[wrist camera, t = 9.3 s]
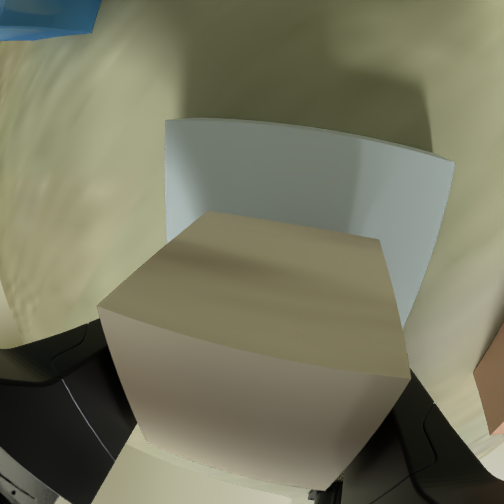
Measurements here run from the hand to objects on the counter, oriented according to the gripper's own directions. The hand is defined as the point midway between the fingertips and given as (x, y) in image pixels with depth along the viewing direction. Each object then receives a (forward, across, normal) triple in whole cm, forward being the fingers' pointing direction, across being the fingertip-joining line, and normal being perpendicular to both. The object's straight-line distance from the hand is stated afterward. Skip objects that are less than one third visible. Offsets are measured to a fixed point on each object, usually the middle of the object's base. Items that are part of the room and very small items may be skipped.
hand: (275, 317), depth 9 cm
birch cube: (+1, 0, 0) cm, 1 cm away
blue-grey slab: (+6, 0, 0) cm, 6 cm away
